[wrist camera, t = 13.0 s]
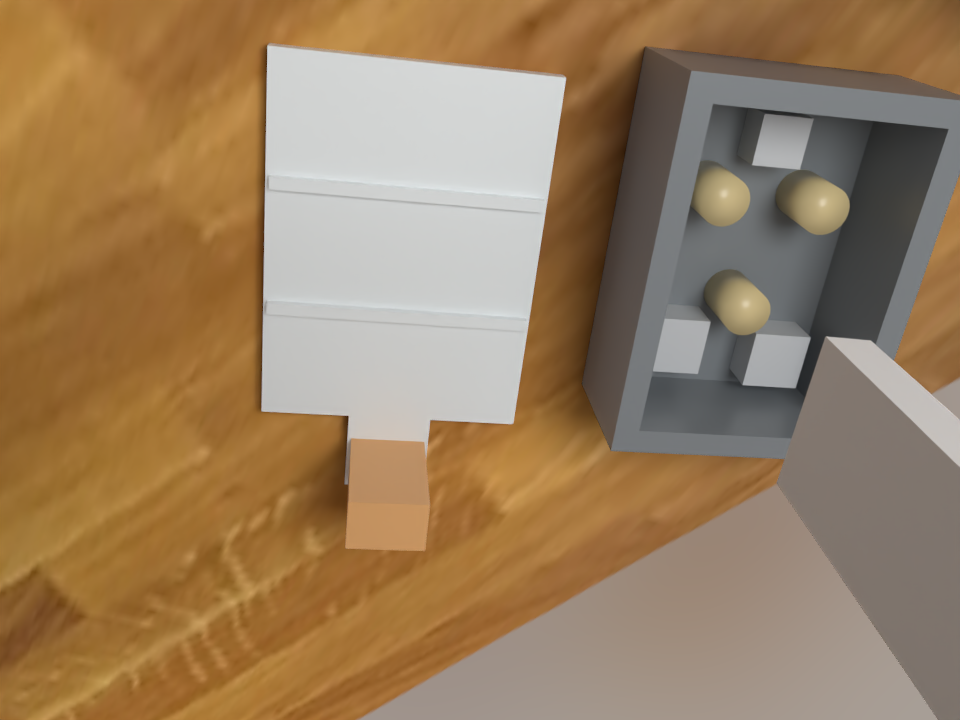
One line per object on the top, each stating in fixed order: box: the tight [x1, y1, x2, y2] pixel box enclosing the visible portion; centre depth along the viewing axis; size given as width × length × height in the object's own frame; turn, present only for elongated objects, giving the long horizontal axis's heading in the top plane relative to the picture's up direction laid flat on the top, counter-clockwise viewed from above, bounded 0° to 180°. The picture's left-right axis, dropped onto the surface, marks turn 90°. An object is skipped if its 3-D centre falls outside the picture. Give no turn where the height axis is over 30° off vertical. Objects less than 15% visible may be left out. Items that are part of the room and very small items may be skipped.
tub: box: [582, 47, 960, 459], centre depth 45 cm, size 13×18×7 cm
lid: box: [261, 43, 566, 551], centre depth 44 cm, size 14×23×7 cm, turn 173°
